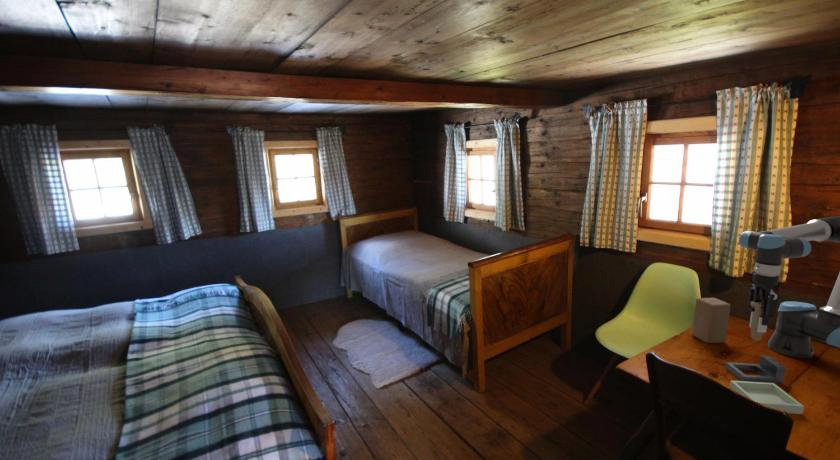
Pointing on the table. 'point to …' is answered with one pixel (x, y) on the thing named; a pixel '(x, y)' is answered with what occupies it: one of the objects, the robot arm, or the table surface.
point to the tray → (767, 395)
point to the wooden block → (711, 320)
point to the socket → (759, 371)
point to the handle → (756, 321)
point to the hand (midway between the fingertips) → (757, 329)
